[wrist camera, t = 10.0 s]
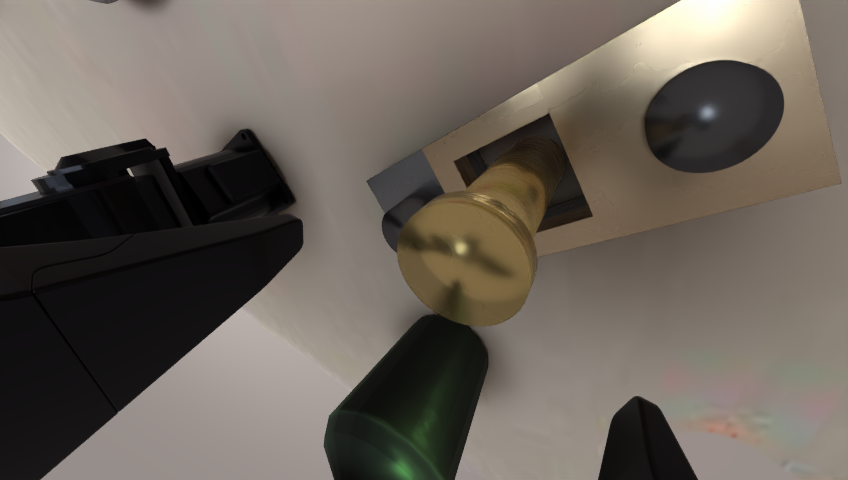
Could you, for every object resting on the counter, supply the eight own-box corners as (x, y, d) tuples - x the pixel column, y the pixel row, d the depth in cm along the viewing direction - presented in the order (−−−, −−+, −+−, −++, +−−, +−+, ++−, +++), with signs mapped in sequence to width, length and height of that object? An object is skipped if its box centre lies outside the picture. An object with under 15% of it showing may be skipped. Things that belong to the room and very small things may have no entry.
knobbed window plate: (431, 263, 24) (402, 297, 20) (380, 173, 22) (339, 195, 19) (802, 155, 13) (858, 195, 10) (753, -41, 11) (800, -69, 8)
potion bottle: (485, 306, 23) (278, 703, 9) (510, 393, 26) (379, 792, 12) (391, 302, 28) (157, 567, 14) (421, 376, 30) (252, 656, 17)
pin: (555, 214, 18) (500, 347, 10) (485, 185, 19) (389, 287, 11) (591, 141, 16) (555, 245, 8) (509, 113, 17) (408, 181, 9)
